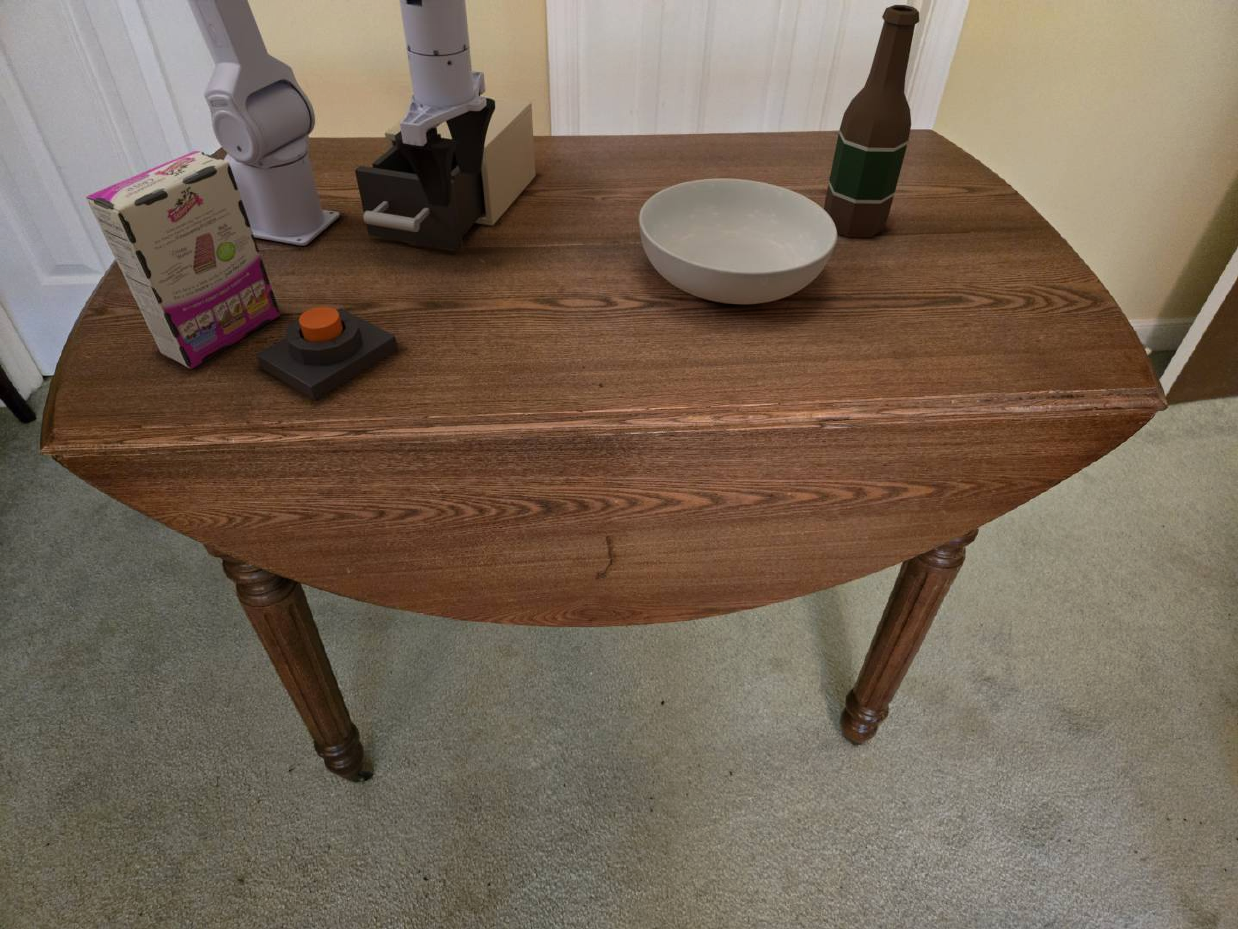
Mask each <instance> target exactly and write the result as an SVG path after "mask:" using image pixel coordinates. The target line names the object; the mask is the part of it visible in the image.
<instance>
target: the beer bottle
mask: <svg viewBox="0 0 1238 929" xmlns="http://www.w3.org/2000/svg"><path fill="white" fill-rule="evenodd" d="M881 18H882V20H883V24H882V28H881V31H880V35H879V38H878V42H877V45H876V49H875V53H874V56H873V60H872V64H871V67H870V70H869V74H868V76H867V79H866V81H865V84H864V86H863V87H862V88H861V89H860V91H859V92H857V94H856V95H855V96H854V97H853V98H852V99H851V100H850V103H849V104H848V106H847V107H846V109H845V111H844V113H843V114H842V115H843V116H842V119H841V122H840V127H839V130H838V135H837V139H836V145H835V149H834V155H833V159H832V163H831V164H832V165H831V168H830V169H831V170H830V174H829V179H828V183H827V189H826V193H825V199H824V204H823V209H824V210H825V211H826V212H827V213H828V214H829V216H830V217H831V218H832V220H833V222H834V224H835V226H836V229H837V235H841V236H843V237H845V238H856V239H857V238H858V239H859V238H865V239H867V238H869V239H871V238H872V237H874V236H875V235H877V234H878V233H880V232H882V231H883V230H884V229H885V227H886V225H887V222H888V218H889V215H890V213H891V210H892V209H891V208H892V205H893V200H894V197H895V194H896V190H897V185H898V182H899V178H900V175H901V172H902V171H901V170H902V167H903V162H904V160H905V155H906V152H907V147H908V144H909V139H910V133H911V128H912V116H911V108H910V104H909V102H908V99H907V96H906V93H905V88H906V76H907V71H908V65H909V60H910V54H911V49H912V44H913V39H914V34H915V28H916V25H917V24H918V23H920V11H919V10H918V9H917V8H916V7H914V6H910V5H906V4H893V5H891V6H888V7H886V8H885V10H884V11H883V13H882V16H881Z"/></svg>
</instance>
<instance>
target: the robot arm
mask: <svg viewBox="0 0 1238 929" xmlns="http://www.w3.org/2000/svg"><path fill="white" fill-rule="evenodd" d="M187 3H188V6H189V7H190V10H191V12H192V14H193V17H194V19H195V21H196V24H197V26H198V28H199V31H200V33H201V35H202V38H203V40H204V43H205V44H206V47H207V49H208V52H209V54H210V56H211V58H212V61H213V63H214V69H213V71H212V74H211V77H209V81H208V83H207V85H206V88H205V89H204V94H203V96H204V99H205V101H206V103H207V106H208V108H209V112H210V117H211V126H212V130H213V134H214V136H215V138H216V140H217V142H218V144H219V146H220V147H221V148H222V149H223V151H225V152H226V153H227V154H226V155H225V156H224V159H223V160H225V161H228V162H229V163H230V167H231V170H232V172H233V175H234V178H235V181H236V184H237V188H238V190H239V193H240V196H241V199H242V202H243V205H244V208H245V211H246V214H247V217H248V220H249V223H250V226H251V229H252V231H253V235H254V238H255V239H263V240H268V241H274V242H279V243H285V244H289V245H296V246H302V247H304V246H307V245H309V243H311V242H312V241H313V240H315V239H316V238H317V237H318V236H319V235H320V234H321V233H322V232H323V231H325V230H326V229H327V228H328V227H329V226H331V225H332V224H333V223H334V222H335V221H336V220H338V219H339V218H340V216H341V215H340V212H338V211H333V210H328V209H323V206H322V203H321V199H320V195H319V190H318V187H317V183H316V179H315V174H314V171H313V167H312V162H311V159H310V156H309V150H308V147H309V146H311V144H312V143H311V140H310V134H311V133H312V132H313V130H314V128H315V126H316V114H315V110H314V108H313V104H312V102H311V101H310V98H309V97H308V95H307V94H306V93H305V91H304V90H303V88H302V87H301V86H300V84H299V83H298V81H297V79H296V76H295V73H294V71H293V69H292V67H291V66H290V65H289V64H287V63H285V62H283V61H281V60H279V59H278V58H276V57H274V56H272V55H271V54H270V53H269V52H268V50H267V46H266V44H265V41H264V38H263V37H262V34H261V31H260V29H259V27H258V24H257V21H256V19H255V16H254V13H253V11H252V7H251V6H250V3H249V0H187ZM399 5H400V12H401V19H402V20H401V21H402V26H403V32H404V40H405V46H406V54H407V60H408V67H409V75H410V81H411V88H412V95H411V98H410V101H409V104H408V108H407V111H406V114H405V116H404V117H405V118H404V117H403V118H404V119H403V118H402V119H403V120H402V119H401V120H402V121H401V120H400V121H401V122H400V127H401V131H400V132H399V133H397V134H396V135H395V141H396V146H397V148H398V149H399V150H400V151H401V152H402V153H403V155H404V156H405V157H406V159H407V160H408V161H409V163H410V164H411V166H412V167H413V169H414V171H415V173H416V175H417V177H418V179H419V181H420V183H421V186H422V188H423V191H424V193H425V195H426V198H427V200H428V202H429V204H431V205H437V206H443V207H448V206H449V205H450V202H451V194H452V191H451V168H452V160H453V155H454V151H455V155H456V160H457V164H458V167H459V169H460V172H461V173H468V174H474V175H479V174H480V172H481V167H482V161H483V152H484V145H485V139H486V134H487V130H488V126H489V123H490V120H491V117H492V115H493V113H494V110H495V101H494V100H493V99H490V98H485V97H481V96H483V94H484V93H486V84H485V83H486V82H485V73H484V72H483V71H476V70H473V66H472V57H471V56H472V55H471V46H470V45H471V44H470V36H469V25H468V14H467V5H466V0H399ZM480 95H481V96H480ZM444 121H446V123H447V125H448V128H449V131H450V134H451V137H452V139H447V138H441V134H438V133H437V127H438V126H439V125H440V124H441V123H443V122H444Z"/></svg>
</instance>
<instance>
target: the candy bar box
mask: <svg viewBox="0 0 1238 929" xmlns="http://www.w3.org/2000/svg"><path fill="white" fill-rule="evenodd" d="M85 198H86V200H87V203H88V204H89V206H90V209H91V211H92V213H93V215H94V217H95V219H96V221H97V223H98V226H99V227H100V229H101V232H102V233H103V236H104V237H105V240H106V242H107V244H108V246H109V248H110V250H111V252H112V255H113V257H114V259H115V261H116V263H117V265H118V267H119V269H120V270H121V273H122V275H123V277H124V280H125V282H126V284H127V286H128V288H129V291H130V292H131V294H132V295H131V296H133V298H134V300H135V303H136V304H137V307H138V309H139V311H140V313H141V315H142V317H143V319H144V321H145V324H146V325H147V328H148V330H149V332H150V334H151V336H152V339H153V341H154V342H155V344H156V346H157V350H159V352H160V354H161V355H163V356H164V357H166V358H168V359H170V360H172V361H175V362H176V363H178V364H180V365H182V366H183V367H185V368H187V369H189V370H192V369H195V368H197V367H198V366H200V365H201V364H203V363H205V362H207V361H208V360H211V358H213V357H216V355H219V354H220V353H221V352H224V351H225V350H227V349H228V348H229V347H231V346H233V345H234V344H236V343H238V342H240V341H241V340H243V339H245V338H246V337H248V336H250V335H251V334H252V333H255V332H256V331H258V330H259V329H261V328H262V327H264V326H266V325H268V324H269V323H271V322H272V321H274V320H276V319H277V318H279V317H280V316H281V311H280V309H279V306H278V303H277V300H276V297H275V294H274V291H273V288H272V285H271V282H270V279H269V276H268V273H267V270H266V267H265V264H264V261H263V258H262V256H261V252H260V250H259V247H258V244H257V242H256V237H254V235H253V231H252V229H251V226H250V223H249V220H248V217H247V214H246V211H245V208H244V205H243V202H242V199H241V196H240V193H239V190H238V188H237V184H236V181H235V178H234V175H233V172H232V170H231V167H230V163H229V162H228V161H225V160H224V159H222V158H219V157H216V156H213V155H211V154H209V153H207V154H205V152H204V151H200V150H193V151H192V152H189V153H187V154H185V155H181V156H179V157H176V158H175V159H172V160H170V161H169V160H168V161H167V162H165V163H162V164H160V165H158V166H154V167H153V168H150V169H148V170H146V171H143V172H141V173H138V174H136V175H133V176H132V177H129V178H126V179H124V180H121V181H120V182H117V183H115V184H112V185H110V186H108V187H105V188H103V189H100V190H98V191H96V192H93V193H90V194H88V195H87V196H85Z"/></svg>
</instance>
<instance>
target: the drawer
mask: <svg viewBox="0 0 1238 929" xmlns="http://www.w3.org/2000/svg"><path fill="white" fill-rule="evenodd" d="M371 165H372V166H371V167H370V166H365V165H359V166H358V167H357V168H355V169H354V173H355V178H356V183H357V187H358V193H359V197H360V201H361V207H362V211H363V222H364V223H365V225H366V229H367V234H368V236H371V237H377V238H382V239H383V238H384V239H388V240H389V239H390V240H395V241H400V242H407V243H411V244H412V243H414V244H418V245H424V246H429V247H435V248H441V249H446V250H447V249H448V250H453V251H460V250H461V249H462V248H463V247H464V244H463V236H464V235H465V234H466V233H467V232H468V231H469V230H470V228H472V226H474V224H476V223H475V222H476V221H477V220H478V218H479V217H480V216H481V215H482V214H483V213H484V212H485V211H486V210H485V200H484V191H483V181H482V171H481V172H480V174H479V175H474V174H468V173H461V172H460V169H459V167H458V164H457V160H456V155H455V151H454V155H453V160H452V168H451V191H452V194H451V202H450V205H449V206H448V207H443V206H437V205H431V204H429V202H428V200H427V198H426V195H425V193H424V191H423V188H422V186H421V183H420V181H419V179H418V177H417V175H416V173H415V171H414V169H413V167H412V166H411V164H410V163H409V161H408V160H407V159H406V157H405V156H404V155H403V153H402V152H401V151H400V150H399V149H398V148H397V146H396V145H394V146H393V147H392V148H391V149H390V150H388V149H387V151H385V153H382V155H381V156H379V158H377V159H376V160H375V161H373V162H372V164H371Z"/></svg>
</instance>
